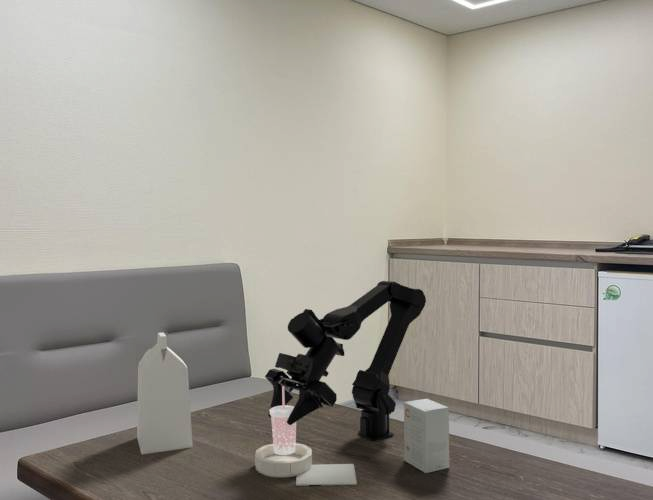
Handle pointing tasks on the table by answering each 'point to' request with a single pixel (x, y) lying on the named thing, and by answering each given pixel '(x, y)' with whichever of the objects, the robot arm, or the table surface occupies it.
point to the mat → (327, 475)
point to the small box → (426, 435)
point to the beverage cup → (283, 428)
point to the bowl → (283, 461)
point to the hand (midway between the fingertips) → (278, 420)
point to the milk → (163, 400)
